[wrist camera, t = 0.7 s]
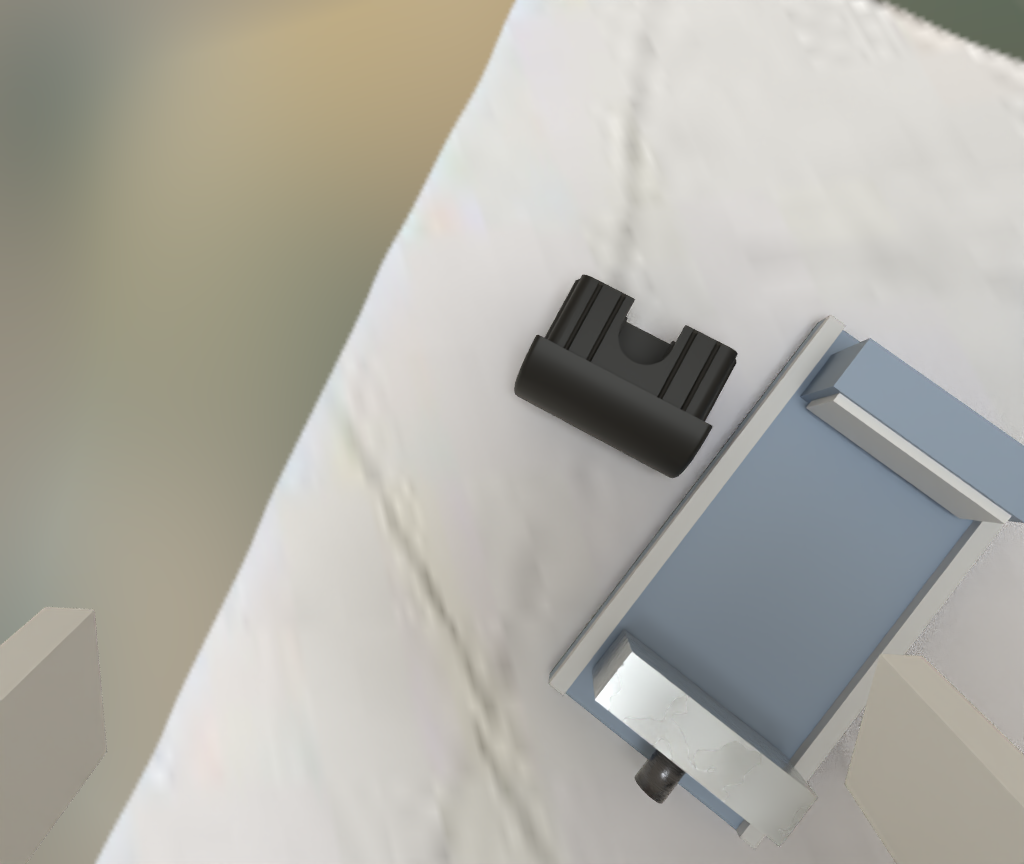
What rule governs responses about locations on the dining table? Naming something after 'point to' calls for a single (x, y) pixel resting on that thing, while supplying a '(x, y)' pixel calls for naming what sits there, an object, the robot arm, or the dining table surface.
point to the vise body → (811, 549)
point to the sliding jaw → (698, 740)
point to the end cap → (625, 378)
